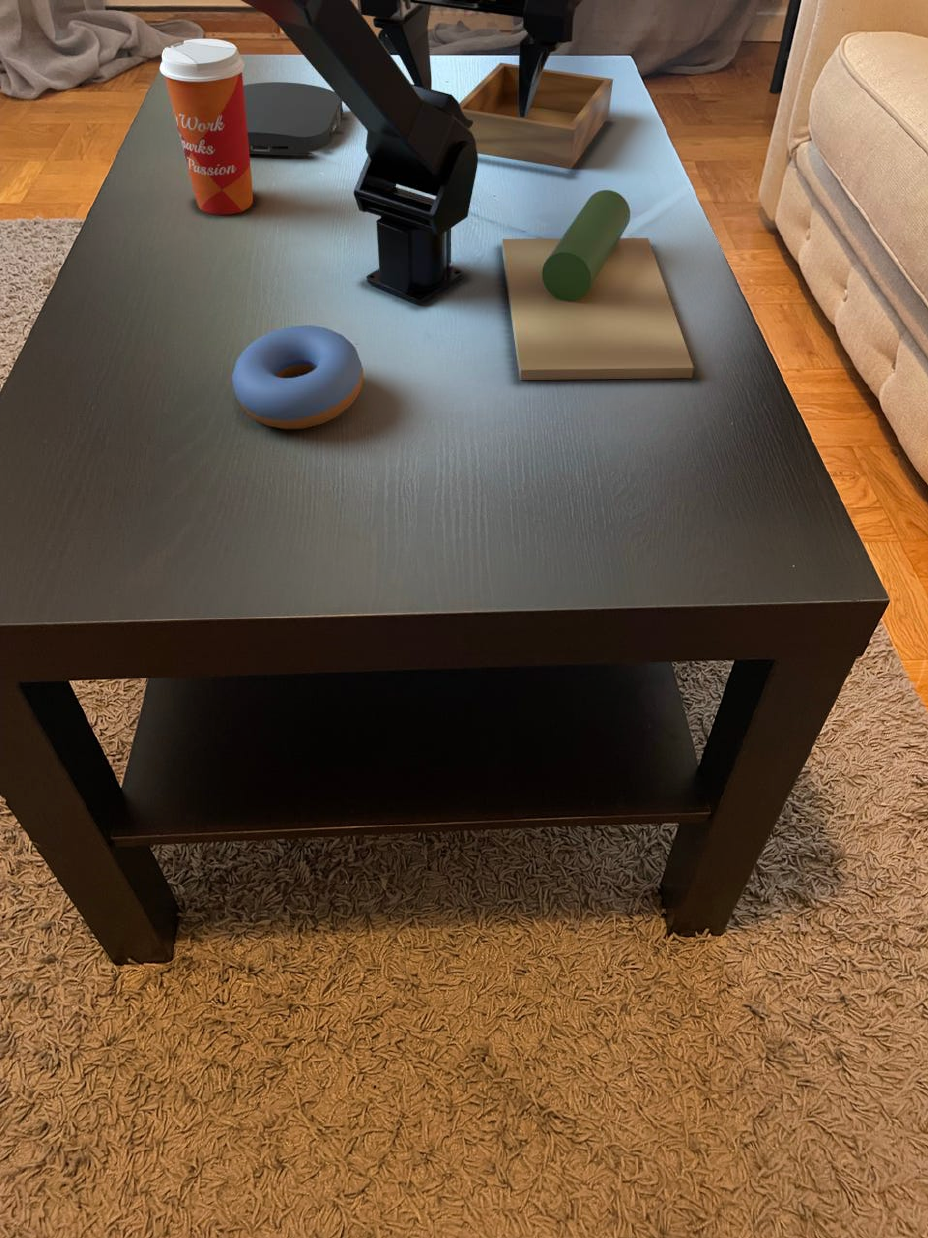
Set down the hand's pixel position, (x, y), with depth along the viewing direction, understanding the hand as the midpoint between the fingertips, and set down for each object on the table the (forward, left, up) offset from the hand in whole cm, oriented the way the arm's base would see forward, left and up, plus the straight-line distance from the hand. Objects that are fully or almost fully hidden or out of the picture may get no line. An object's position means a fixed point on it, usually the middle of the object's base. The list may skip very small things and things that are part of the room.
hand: (474, 107), depth 85 cm
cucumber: (-5, -14, -9) cm, 18 cm away
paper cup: (-10, +24, -12) cm, 29 cm away
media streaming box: (+6, +33, -12) cm, 36 cm away
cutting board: (-4, -16, -12) cm, 20 cm away
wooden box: (+23, +9, -12) cm, 28 cm away
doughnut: (-30, -6, -12) cm, 32 cm away
